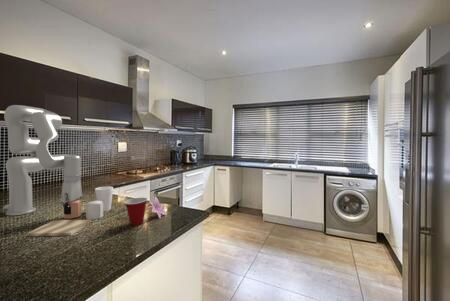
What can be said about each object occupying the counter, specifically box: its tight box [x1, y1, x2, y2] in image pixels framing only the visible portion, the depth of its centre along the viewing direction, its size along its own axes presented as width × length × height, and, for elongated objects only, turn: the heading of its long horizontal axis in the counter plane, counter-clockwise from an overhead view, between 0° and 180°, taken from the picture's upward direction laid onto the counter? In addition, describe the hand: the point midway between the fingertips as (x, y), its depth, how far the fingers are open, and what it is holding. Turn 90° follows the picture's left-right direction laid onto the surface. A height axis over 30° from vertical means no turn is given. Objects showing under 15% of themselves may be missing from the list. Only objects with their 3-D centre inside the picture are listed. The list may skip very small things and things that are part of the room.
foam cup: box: [94, 186, 114, 212], centre depth 129 cm, size 10×9×13 cm
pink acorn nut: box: [62, 199, 82, 220], centre depth 115 cm, size 7×7×8 cm
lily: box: [149, 196, 168, 219], centre depth 119 cm, size 12×12×10 cm
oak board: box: [26, 219, 92, 237], centre depth 101 cm, size 18×16×1 cm
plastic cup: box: [123, 197, 148, 226], centre depth 108 cm, size 11×11×12 cm
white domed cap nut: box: [85, 200, 104, 221], centre depth 116 cm, size 7×7×8 cm
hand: (72, 211), depth 116 cm, fingers closed on pink acorn nut, 7 cm apart
